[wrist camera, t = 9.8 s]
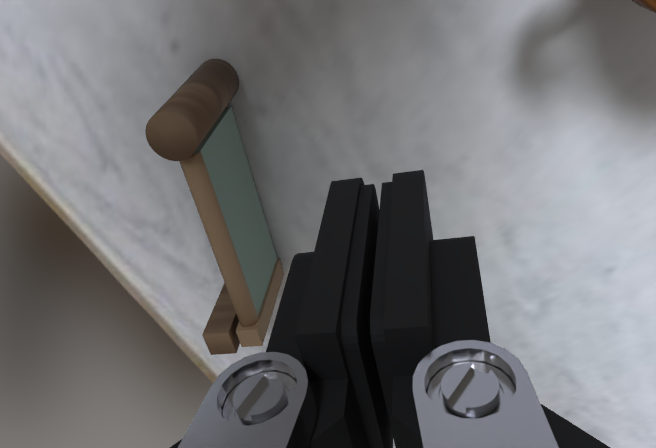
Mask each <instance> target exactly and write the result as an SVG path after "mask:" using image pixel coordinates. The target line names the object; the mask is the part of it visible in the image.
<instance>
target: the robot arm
mask: <svg viewBox="0 0 656 448" xmlns="http://www.w3.org/2000/svg"><path fill="white" fill-rule="evenodd" d="M393 438H394V442H395V446H396V448H610V447H608V446H607V445H605V444H604V443H602V442H600V441H599V440H597V439H596V438H594V437H593V436H591V435H589V434H588V433H586V432H585V431H583V430H581V429H580V428H578V427H577V426H575V425H573V424H572V423H570V422H569V421H567V420H565V419H564V418H562V417H561V416H559V415H558V414H556V413H554V412H553V411H551V410H550V409H548V408H546V407H545V406H543V405H542V404H540V402H539V399H538V397H537V395H536V392H535V390H534V387H533V385H532V383H531V380H530V378H529V376H528V373H527V371H526V370H525V368H524V367H523V365H522V364H521V362H520V360H519V359H518V358H516V357H515V356H514V355H513V354H511V353H510V352H509V351H508V350H506V349H504V348H502V347H499V346H497V345H495V344H492V343H490V336H489V330H488V323H487V316H486V310H485V303H484V296H483V290H482V283H481V277H480V270H479V263H478V257H477V250H476V244H475V238H474V236H471V237H461V238H451V239H441V240H433V234H432V226H431V219H430V212H429V204H428V197H427V190H426V182H425V176H424V171H423V170H419V171H411V172H403V173H395V174H393V180H392V182H386V183H382V190H381V201H380V210H379V205H378V199H377V194H376V189H375V186H374V184H370V185H364V182H363V180H362V178H355V179H347V180H339V181H332V182H331V185H330V189H329V193H328V197H327V201H326V206H325V210H324V214H323V218H322V222H321V226H320V230H319V235H318V239H317V243H316V247H315V251H314V252H308V253H298V254H296V255H295V256H294V258H293V260H292V264H291V267H290V271H289V274H288V277H287V281H286V284H285V288H284V291H283V295H282V298H281V302H280V305H279V309H278V312H277V316H276V319H275V323H274V326H273V330H272V333H271V336H270V340H269V343H268V347H267V350H266V352H263V353H258V354H254V355H251V356H247V357H245V358H243V359H241V360H239V361H237V362H235V363H234V364H232V365H230V366H229V367H228V368H227V369H226V370H225V371H223V372H222V373H221V374H220V375H219V376H218V378H217V379H216V380H215V382H214V383H213V385H212V386H211V388H210V389H209V391H208V393H207V395H206V397H205V399H204V400H203V402H202V404H201V406H200V408H199V410H198V411H197V413H196V415H195V417H194V419H193V421H192V423H191V425H190V426H189V428H188V430H187V432H186V434H185V435H184V437H183V439H182V440H180V441H179V442H177V443H176V444H174V445H173V446H172V447H170V448H393Z"/></svg>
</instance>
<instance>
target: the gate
mask: <svg viewBox="0 0 656 448" xmlns="http://www.w3.org/2000/svg"><path fill="white" fill-rule="evenodd" d="M180 164H181V167H182V169H183V172H184V175H185V177H186V180H187V183H188V185H189V188H190V191H191V193H192V196H193V199H194V201H195V204H196V207H197V210H198V212H199V215H200V218H201V220H202V223H203V226H204V228H205V231H206V234H207V236H208V239H209V242H210V244H211V247H212V250H213V252H214V255H215V258H216V260H217V263H218V266H219V268H220V271H221V274H222V276H223V279H224V282H225V284H226V287H227V290H228V292H229V295H230V298H231V300H232V303H233V306H234V309H235V311H236V314H237V317H238V319H239V323H238V326H237V328H236V333H237V336H238V338H239V341H240V344H241V346H242V347H246V346H262V345H263V342H264V339H265V335H266V332H267V329H268V325H269V322H270V319H271V315H272V312H273V309H274V305H275V302H276V299H277V295H278V292H279V289H280V286H281V282H282V279H283V276H284V272H283V268H282V265H281V262H280V259H277V256H276V253H275V249H274V246H273V243H272V240H271V236H270V233H269V230H268V226H267V223H266V220H265V216H264V213H263V210H262V207H261V203H260V200H259V197H258V193H257V190H256V187H255V183H254V180H253V177H252V173H251V170H250V167H249V164H248V160H247V157H246V154H245V150H244V147H243V144H242V140H241V137H240V134H239V131H238V127H237V124H236V121H235V117H234V114H233V111H232V107H231V106H229V107H226V108H225V109H224V111H223V112H222V114H221V115H220V116H219V118H218V119H217V121H216V122H215V123H214V125H213V126H212V128H211V129H210V131H209V132H208V133H207V135H206V136H205V138H204V139H203V141H202V142H201V143H200V145H199V146H198V148H197V149H196V150H195V152H194V153H193V154H192V156H190V157H189V158H187V159H185V160H181V161H180Z"/></svg>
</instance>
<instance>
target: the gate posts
mask: <svg viewBox="0 0 656 448" xmlns="http://www.w3.org/2000/svg"><path fill="white" fill-rule="evenodd" d="M238 87H239V78H238V75H237V73H236V71H235V70H234V68H233V67H232V66H231V65H230V64H228V63H227V62H225V61H223V60H220V59H211V60H208V61H206V62H204V63H203V64H202V65H201V66H200V67H199V68H198V69H197V70H196V71H195V72H194V73H193V74H192V75H191V76H190V78H189V79H188V80H187V81H186V82H185V83H184V84H183V85H182V86H181V87H180V88H179V89H178V90H177V91H176V92H175V93H174V94H173V96H172V97H171V98H170V99H169V100H168V101H167V102H166V103H165V104H164V105H163V106H162V107H161V108H160V109H159V110H158V111H157V112H156V113H155V115H154V116H153V117H152V118H151V119H150V120H149V121H148V123H147V126H146V138H147V141H148V143H149V145H150V146H151V148H152V149H153V150H154V151H155V152H156V153H157V154H158V155H160V156H161V157H163V158H165V159H168V160H172V161H181V160H185V159H187V158H189V157H190V156H192V154H193V153H194V152H195V150H196V149H197V148H198V146H199V145H200V143H201V142H202V141H203V139H204V138H205V136H206V135H207V133H208V132H209V131H210V129H211V128H212V126H213V125H214V123H215V122H216V121H217V119H218V118H219V116H220V115H221V114H222V112H223V111H224V109H225V108H226V106H227V105H228V104H229V102H230V101H231V99H232V98H233V97H234V95H235V94H236V92H237V90H238ZM238 323H239V319H238V317H237V314H236V311H235V309H234V306H233V303H232V300H231V298H230V295H229V292H228V290H227V287H226V284H225V283H224V286H223V288H222V290H221V293H220V295H219V297H218V300H217V302H216V304H215V307H214V309H213V311H212V314H211V316H210V318H209V321H208V323H207V325H206V328H205V330H204V332H203V338H204V340H205V342H206V344H207V347H208V349H209V351H210V353H211V355H213V354H230V353H237V350H238V347H239V344H240V341H239V338H238V336H237V333H236V328H237V326H238Z"/></svg>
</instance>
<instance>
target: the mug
mask: <svg viewBox="0 0 656 448" xmlns="http://www.w3.org/2000/svg"><path fill="white" fill-rule="evenodd" d="M632 1H634V2H635V3H637V4H638V5H640V6H642V7H644V8H646V9H648V10H650V11H653V12H655V13H656V0H632Z"/></svg>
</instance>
